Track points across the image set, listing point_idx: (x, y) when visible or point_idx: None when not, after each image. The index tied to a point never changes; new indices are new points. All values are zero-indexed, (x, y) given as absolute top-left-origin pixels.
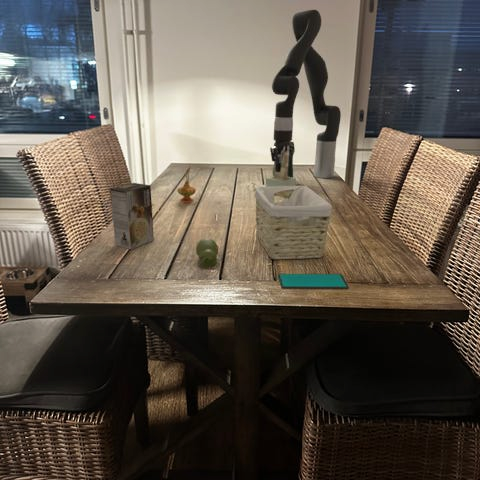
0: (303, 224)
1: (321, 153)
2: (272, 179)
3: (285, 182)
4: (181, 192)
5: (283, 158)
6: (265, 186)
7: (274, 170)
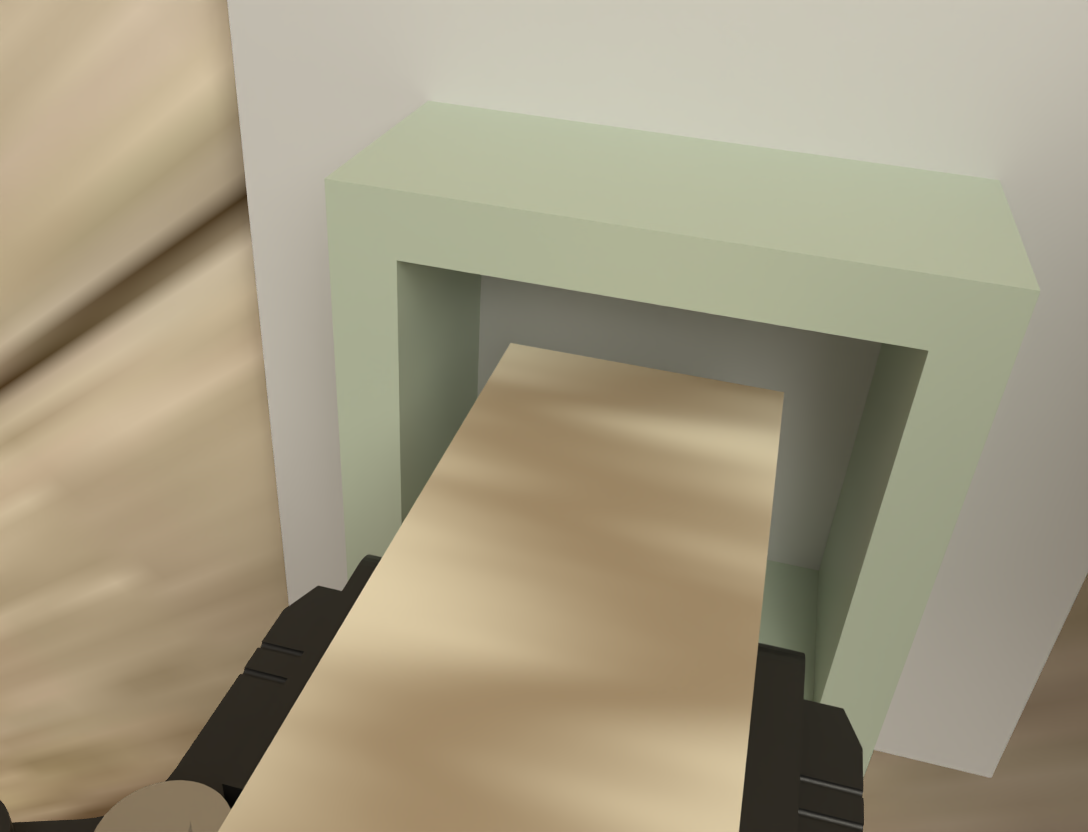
0: None
1: None
2: (341, 394)
3: None
4: None
5: None
6: (516, 39)
7: (414, 504)
